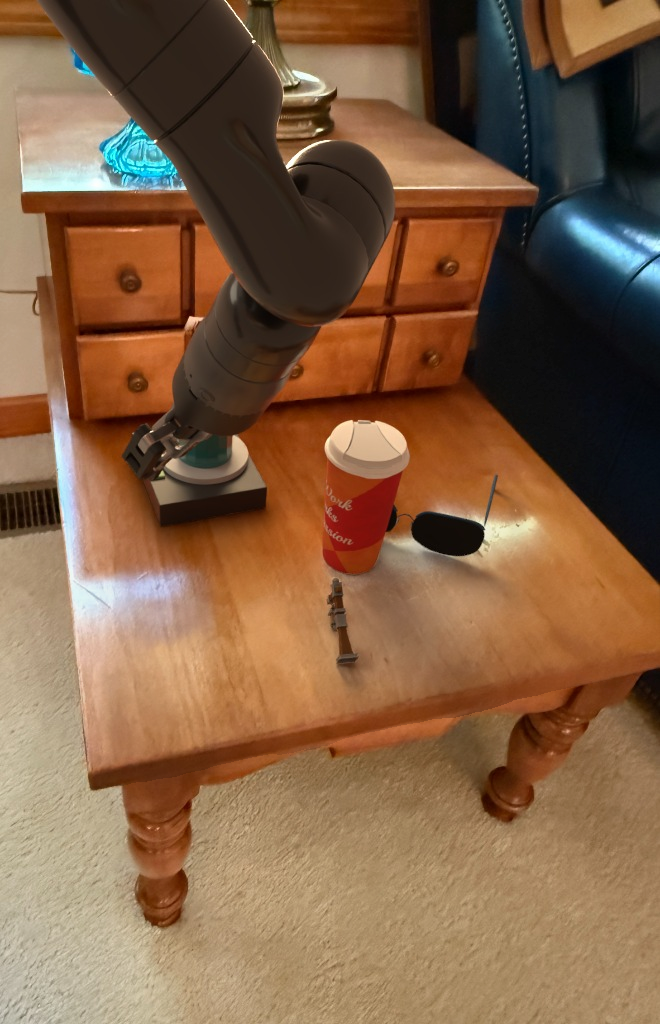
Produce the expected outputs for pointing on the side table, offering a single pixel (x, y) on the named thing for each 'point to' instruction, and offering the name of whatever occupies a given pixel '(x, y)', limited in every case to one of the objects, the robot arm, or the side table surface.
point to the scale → (207, 489)
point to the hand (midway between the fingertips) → (183, 448)
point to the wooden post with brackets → (340, 623)
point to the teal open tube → (209, 452)
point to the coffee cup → (360, 492)
